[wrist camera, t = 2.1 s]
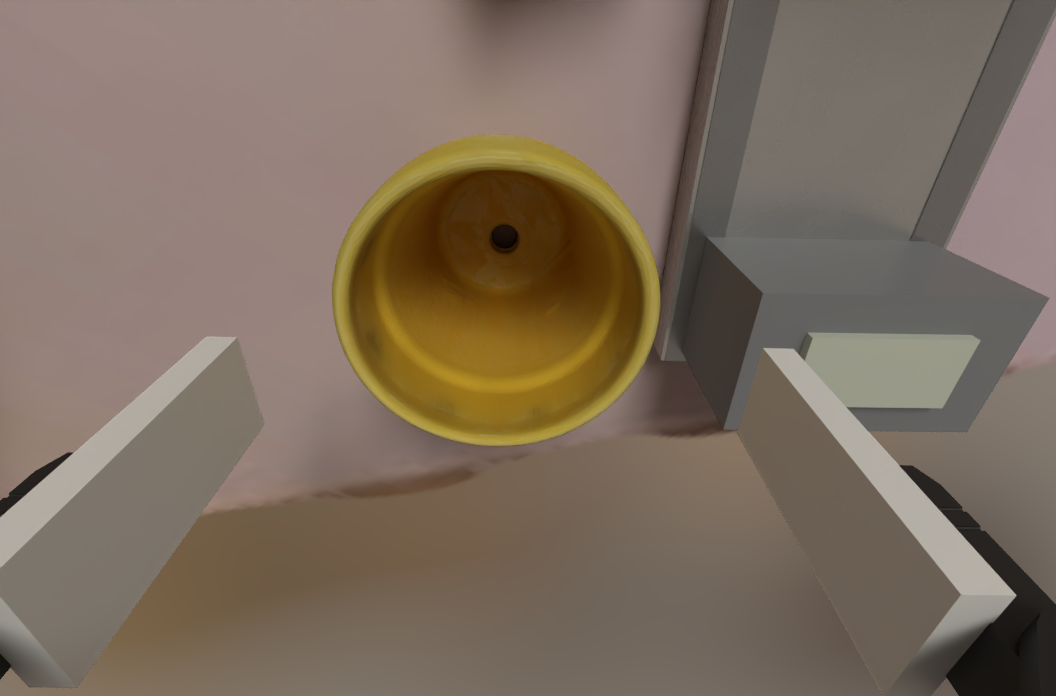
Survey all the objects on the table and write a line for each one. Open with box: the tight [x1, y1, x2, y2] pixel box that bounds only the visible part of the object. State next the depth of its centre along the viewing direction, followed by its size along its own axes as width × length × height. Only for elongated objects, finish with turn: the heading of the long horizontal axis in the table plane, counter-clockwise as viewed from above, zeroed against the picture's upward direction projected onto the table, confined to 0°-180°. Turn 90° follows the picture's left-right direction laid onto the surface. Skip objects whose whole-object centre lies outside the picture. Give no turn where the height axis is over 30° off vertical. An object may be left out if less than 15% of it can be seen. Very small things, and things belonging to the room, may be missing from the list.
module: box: [682, 237, 1049, 432], centre depth 21 cm, size 10×6×6 cm, turn 89°
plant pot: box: [332, 135, 660, 447], centre depth 20 cm, size 10×10×10 cm
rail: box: [653, 0, 1056, 361], centre depth 20 cm, size 12×26×2 cm, turn 179°
